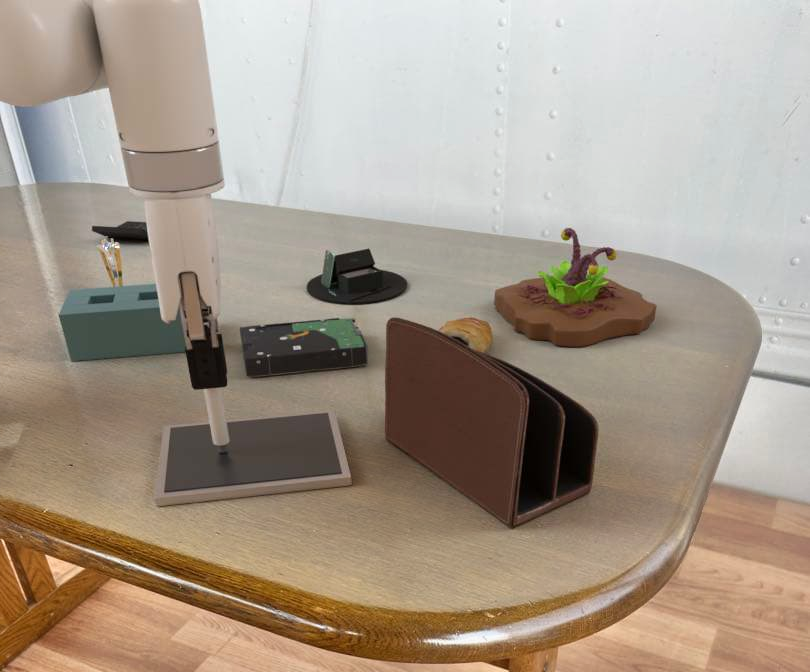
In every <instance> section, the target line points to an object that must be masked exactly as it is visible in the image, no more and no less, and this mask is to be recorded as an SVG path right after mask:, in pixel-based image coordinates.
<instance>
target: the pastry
mask: <svg viewBox="0 0 810 672" xmlns="http://www.w3.org/2000/svg"><path fill="white" fill-rule="evenodd" d="M437 331H440V332H442V333H444V334H446V335H448V336H450V337H452V338H454V339H456V340H458V341H460V342H461V343H463V344H465V345H467V346H468V347H470V348H472V349H473V350H476V351H479V352H483V353H485V354H488V352H489V350H490V347H491V345H492V342H493V331H492V327H491V325H490V323H489V322H488V321H485V320H482V319H478V318H477V317H473V316H469V317H461V318H458V319H454V320H448V321H447V322H446V323H444V325H442V326H441V327H439V328H438V329H437Z"/></svg>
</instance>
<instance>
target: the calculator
mask: <svg viewBox="0 0 810 672" xmlns="http://www.w3.org/2000/svg"><path fill="white" fill-rule="evenodd" d="M91 231H92V232H93V233H96V234H98V235H101V236H103V237H105V236H108V237H107V238H109V237H120V238H119V239H126V238H132V239H133V240H144V239H145V240H147V241H149V239H148V232H147V225H146V221H131V220H127V221H125V222H123V223H121V224H119V225H117V226H106V225H105V226H102V225H92V226H91ZM132 239H131V240H132ZM145 240H144V241H145Z"/></svg>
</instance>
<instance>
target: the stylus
mask: <svg viewBox="0 0 810 672" xmlns="http://www.w3.org/2000/svg"><path fill="white" fill-rule="evenodd" d="M204 325H208V326H209V324H208V322H207V323H204ZM222 390H223V389H222V388H211V389H203V395H204V399H205V404H206V410H207V416H208V422H210V428H211V434H212V440H213V443H214V445H217V447H218V451H219V452H220V453H225V452H227V444H228V443H229V441H230V440H229V434H228V428H227V421H226V420H227V417H226V410H225V403H224V398H223V391H222Z"/></svg>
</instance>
